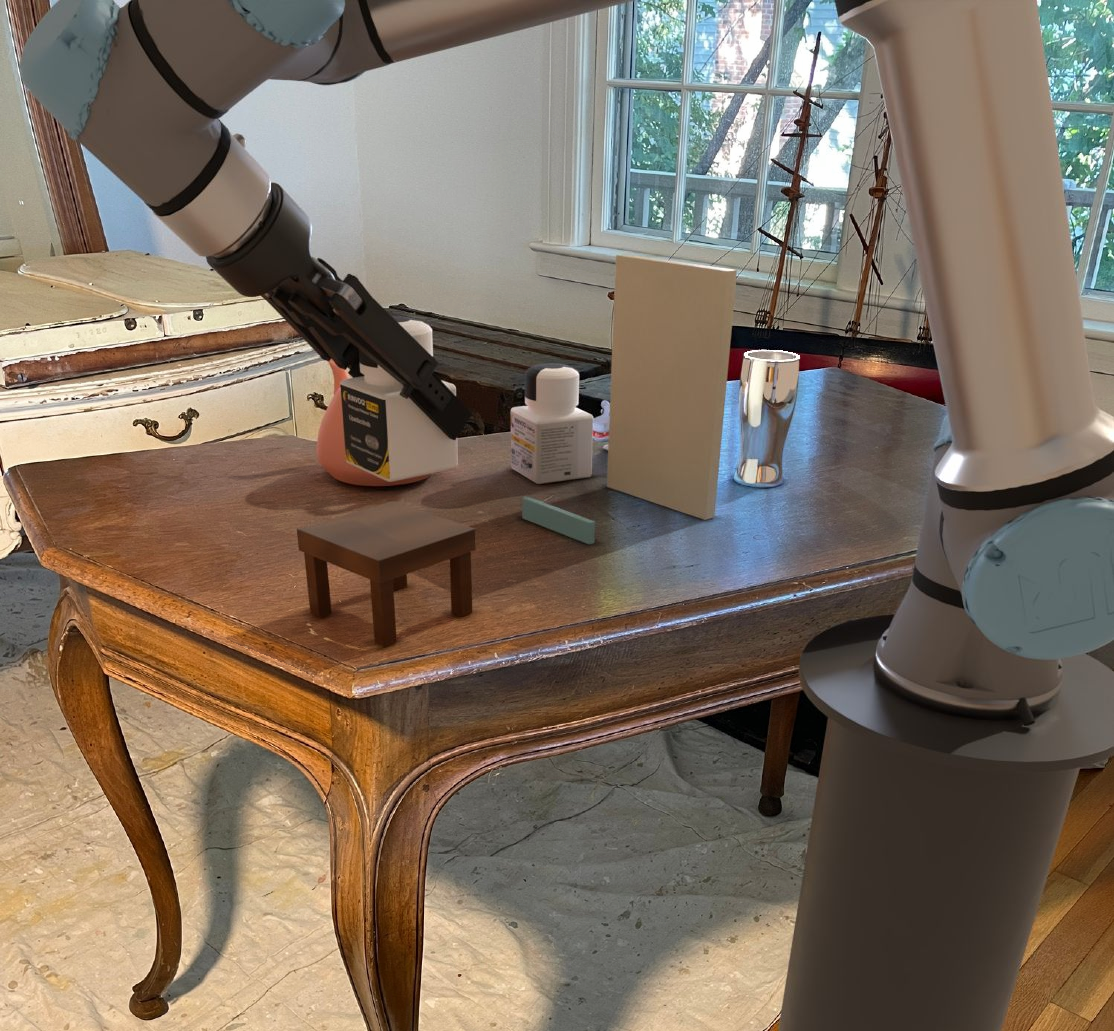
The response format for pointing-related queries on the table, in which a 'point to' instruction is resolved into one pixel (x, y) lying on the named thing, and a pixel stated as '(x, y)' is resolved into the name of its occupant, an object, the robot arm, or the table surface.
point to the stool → (386, 557)
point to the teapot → (334, 444)
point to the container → (551, 427)
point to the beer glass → (765, 415)
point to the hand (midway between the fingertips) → (433, 416)
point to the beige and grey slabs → (662, 389)
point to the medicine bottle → (393, 421)
